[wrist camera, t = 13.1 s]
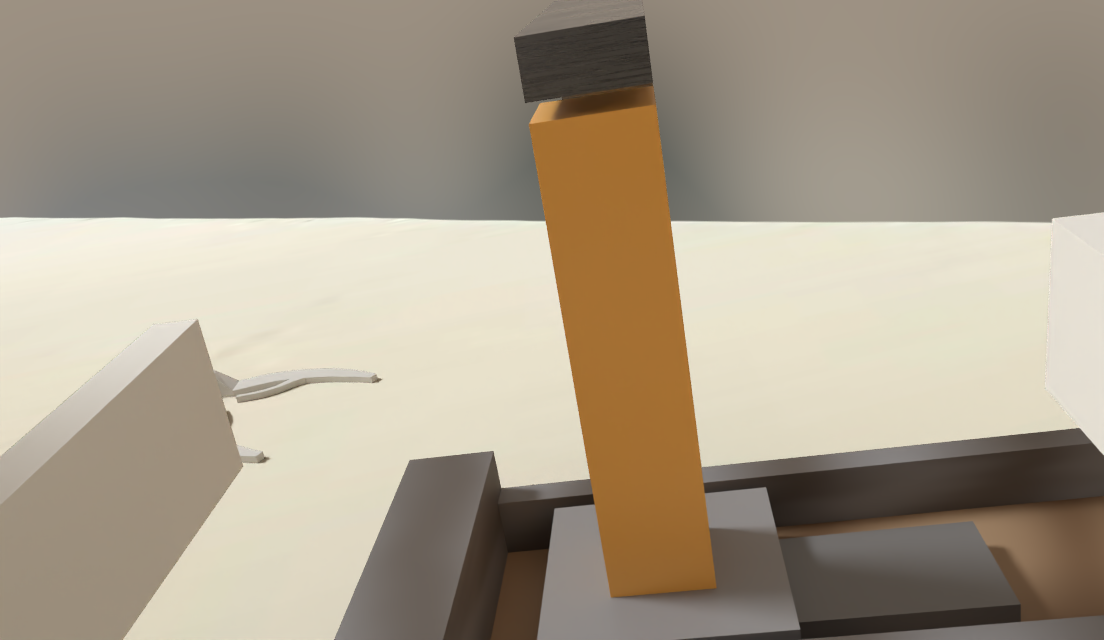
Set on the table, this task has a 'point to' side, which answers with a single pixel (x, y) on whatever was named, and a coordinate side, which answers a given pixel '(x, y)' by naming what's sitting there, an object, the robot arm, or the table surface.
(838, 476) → the track
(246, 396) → the pliers
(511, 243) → the table surface
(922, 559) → the handle
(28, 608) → the robot arm
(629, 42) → the hook
